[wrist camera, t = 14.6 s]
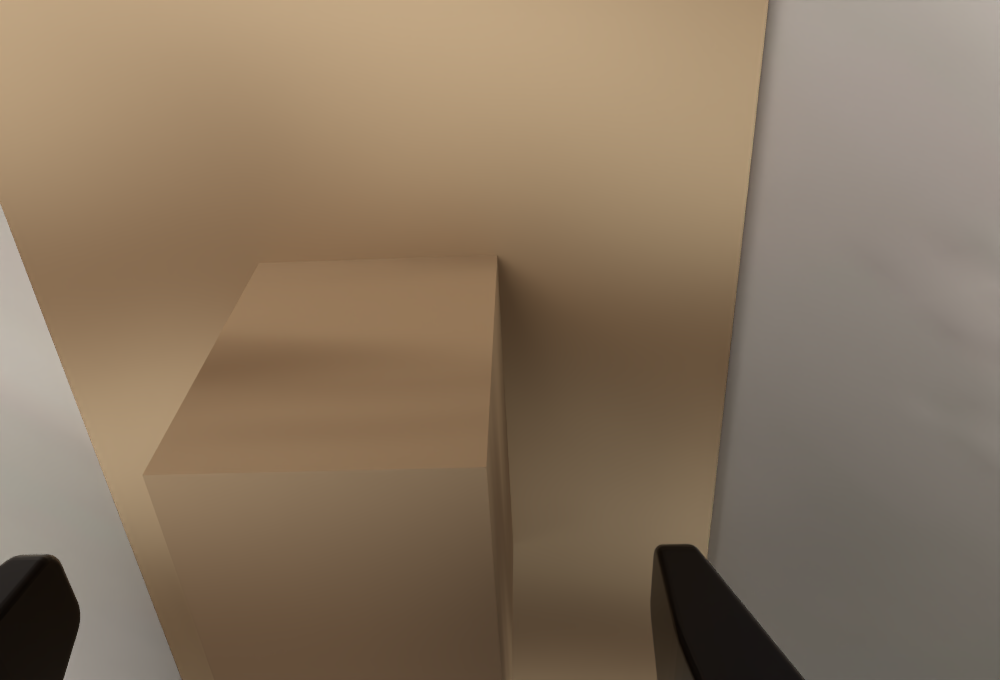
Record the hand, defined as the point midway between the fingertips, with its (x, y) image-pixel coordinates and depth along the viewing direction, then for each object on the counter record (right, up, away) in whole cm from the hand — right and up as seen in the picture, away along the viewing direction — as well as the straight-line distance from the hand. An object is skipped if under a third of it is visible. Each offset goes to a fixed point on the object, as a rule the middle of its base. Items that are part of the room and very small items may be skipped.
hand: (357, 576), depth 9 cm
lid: (0, +3, +3) cm, 4 cm away
